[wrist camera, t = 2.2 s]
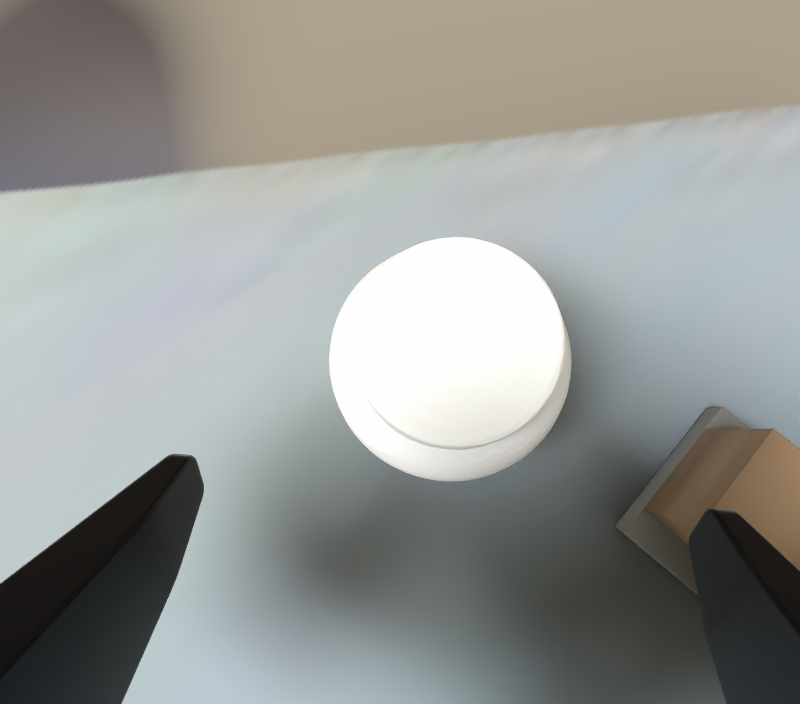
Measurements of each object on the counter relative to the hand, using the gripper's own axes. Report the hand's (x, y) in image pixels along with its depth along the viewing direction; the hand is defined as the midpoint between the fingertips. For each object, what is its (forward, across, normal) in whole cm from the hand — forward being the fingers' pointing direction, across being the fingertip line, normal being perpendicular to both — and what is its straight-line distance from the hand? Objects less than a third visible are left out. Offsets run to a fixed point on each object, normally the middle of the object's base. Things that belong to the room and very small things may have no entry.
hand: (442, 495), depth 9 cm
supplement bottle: (+9, 0, +5) cm, 11 cm away
